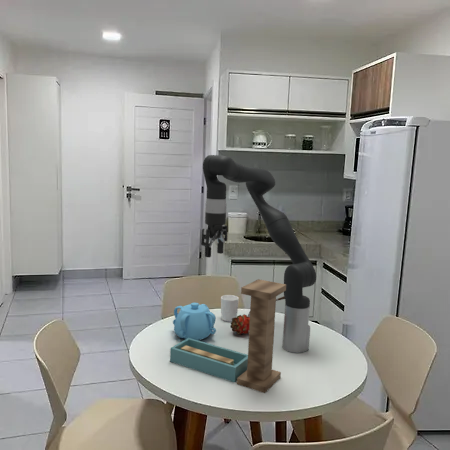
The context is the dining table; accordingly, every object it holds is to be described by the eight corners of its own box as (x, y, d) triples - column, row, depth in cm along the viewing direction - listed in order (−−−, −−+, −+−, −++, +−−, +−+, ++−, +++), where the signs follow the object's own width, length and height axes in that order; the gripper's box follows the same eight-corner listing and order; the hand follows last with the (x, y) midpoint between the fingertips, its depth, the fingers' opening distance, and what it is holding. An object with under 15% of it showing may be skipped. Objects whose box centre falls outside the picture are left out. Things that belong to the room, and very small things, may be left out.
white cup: (218, 321, 198) (219, 299, 197) (221, 315, 206) (222, 294, 204) (236, 323, 197) (237, 301, 195) (238, 316, 205) (239, 295, 203)
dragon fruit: (233, 341, 181) (244, 335, 192) (250, 332, 178) (260, 327, 189) (223, 322, 183) (234, 317, 194) (240, 313, 180) (250, 309, 191)
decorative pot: (217, 343, 175) (219, 309, 173) (176, 345, 172) (177, 311, 170) (209, 327, 191) (211, 296, 189) (171, 329, 187) (172, 297, 185)
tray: (170, 361, 158) (170, 348, 157) (188, 350, 167) (188, 337, 166) (234, 382, 145) (235, 367, 144) (250, 369, 154) (251, 355, 154)
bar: (180, 356, 160) (180, 348, 160) (185, 353, 163) (185, 345, 162) (229, 371, 150) (229, 363, 150) (233, 368, 153) (233, 359, 152)
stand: (236, 384, 144) (241, 287, 139) (253, 369, 154) (258, 279, 149) (264, 393, 139) (270, 293, 134) (280, 377, 149) (286, 284, 145)
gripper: (214, 213, 154) (212, 260, 156) (234, 210, 166) (232, 253, 169) (196, 211, 158) (194, 257, 160) (217, 208, 170) (215, 250, 172)
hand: (214, 255), depth 164 cm, fingers open, 8 cm apart
